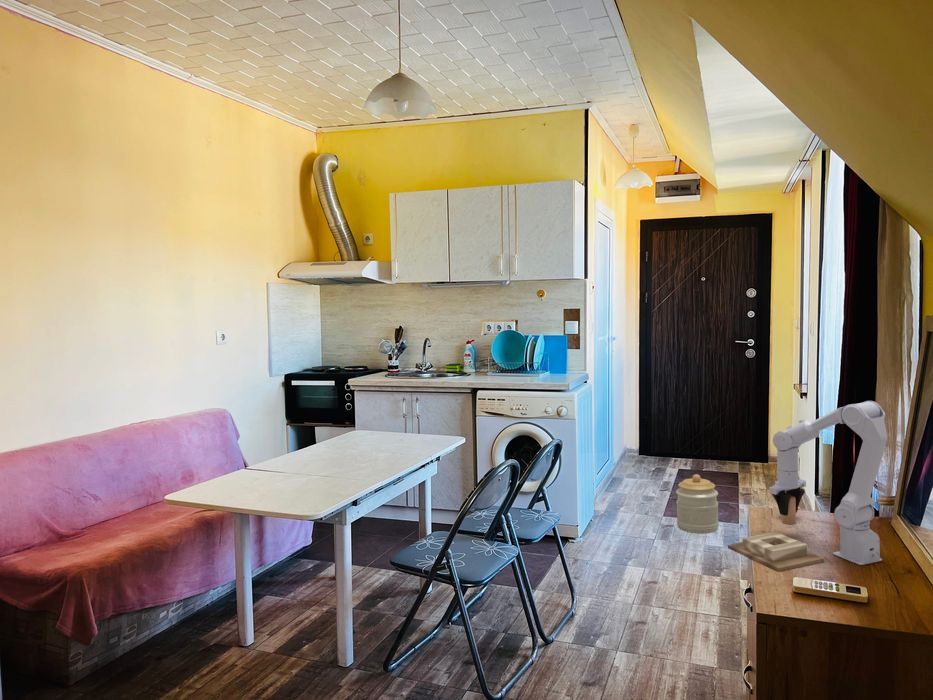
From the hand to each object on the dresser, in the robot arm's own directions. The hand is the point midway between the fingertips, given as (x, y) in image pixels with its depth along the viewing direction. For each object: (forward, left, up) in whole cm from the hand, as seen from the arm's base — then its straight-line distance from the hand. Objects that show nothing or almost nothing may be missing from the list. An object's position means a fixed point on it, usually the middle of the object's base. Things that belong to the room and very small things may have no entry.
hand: (788, 513), depth 213 cm
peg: (0, 0, -3) cm, 3 cm away
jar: (+20, +18, -8) cm, 28 cm away
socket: (-9, +14, -8) cm, 18 cm away
